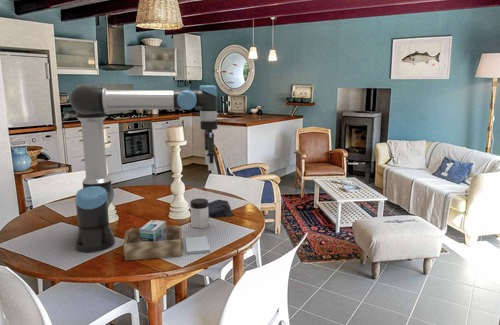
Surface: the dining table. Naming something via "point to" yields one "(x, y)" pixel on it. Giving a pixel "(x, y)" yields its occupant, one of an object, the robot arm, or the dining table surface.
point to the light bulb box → (153, 231)
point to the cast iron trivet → (219, 209)
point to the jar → (199, 213)
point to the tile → (197, 245)
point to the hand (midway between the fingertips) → (209, 167)
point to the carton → (152, 245)
